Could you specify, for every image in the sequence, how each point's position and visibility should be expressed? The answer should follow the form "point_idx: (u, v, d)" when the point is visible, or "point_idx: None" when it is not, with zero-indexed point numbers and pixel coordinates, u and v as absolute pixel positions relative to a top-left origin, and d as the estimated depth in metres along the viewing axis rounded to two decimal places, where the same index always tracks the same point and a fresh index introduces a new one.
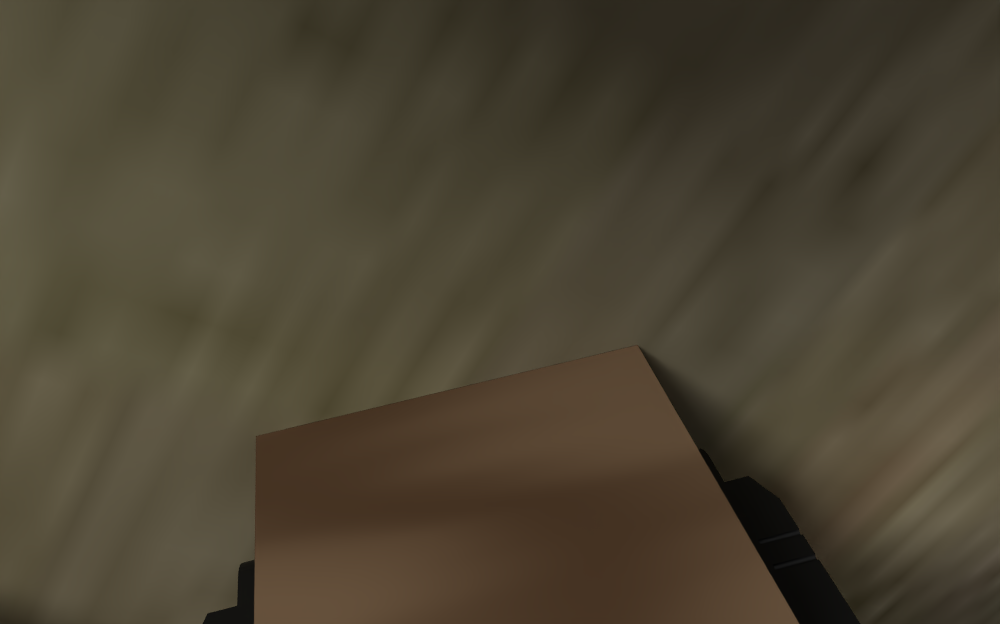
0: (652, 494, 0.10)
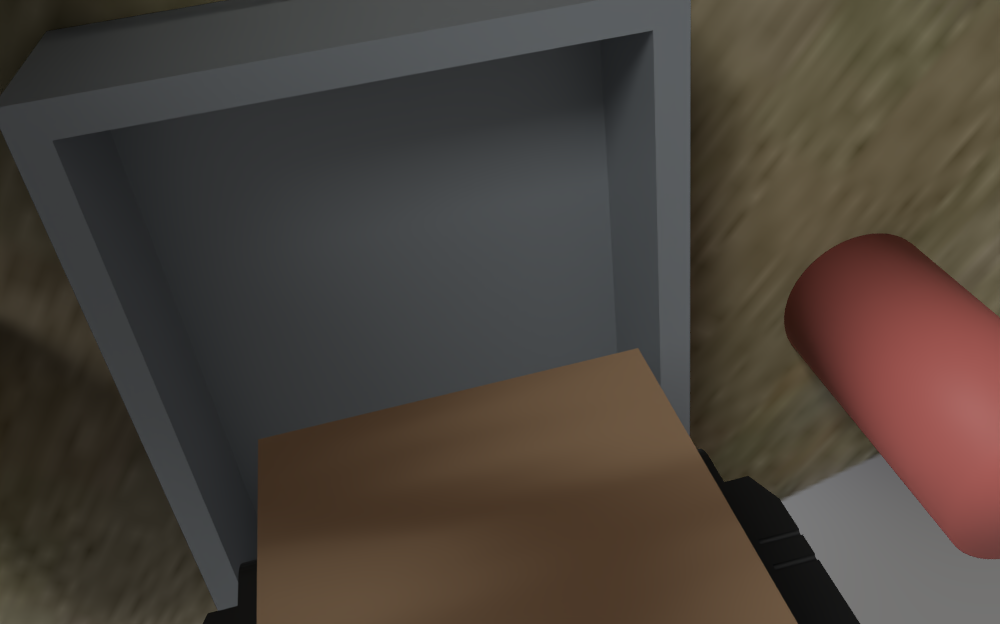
0: (653, 497, 0.10)
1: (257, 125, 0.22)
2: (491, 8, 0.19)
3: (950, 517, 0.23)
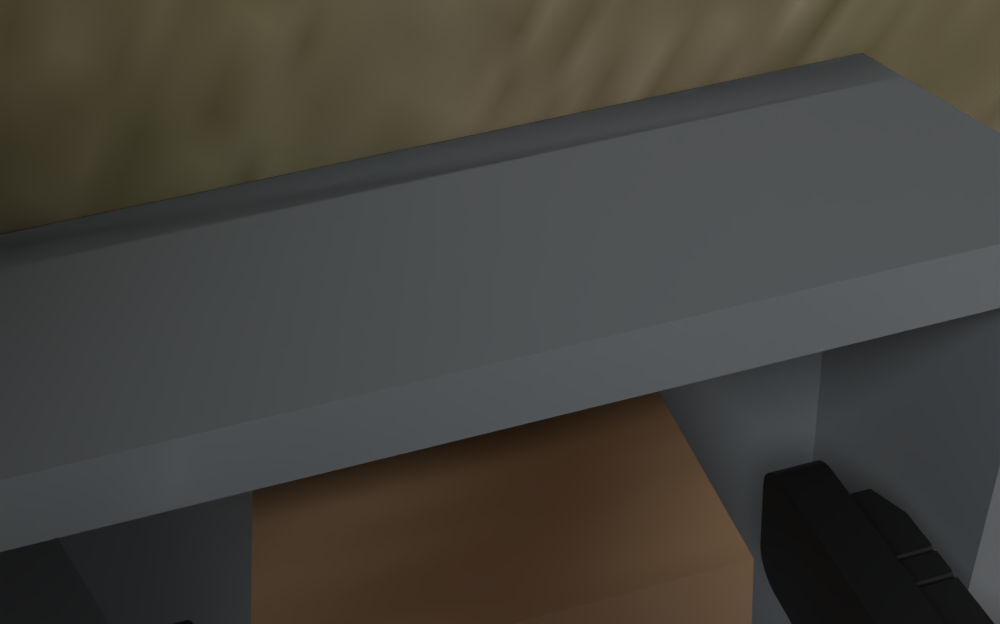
0: (608, 417, 0.11)
1: None
2: (721, 263, 0.09)
3: None
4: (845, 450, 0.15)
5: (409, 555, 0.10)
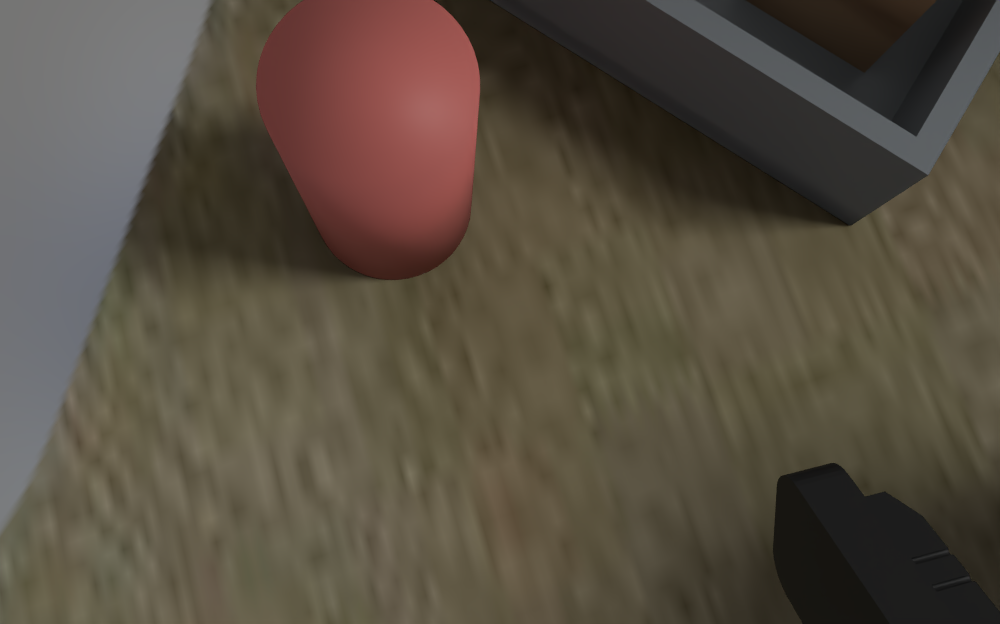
0: None
1: None
2: None
3: None
4: None
5: None
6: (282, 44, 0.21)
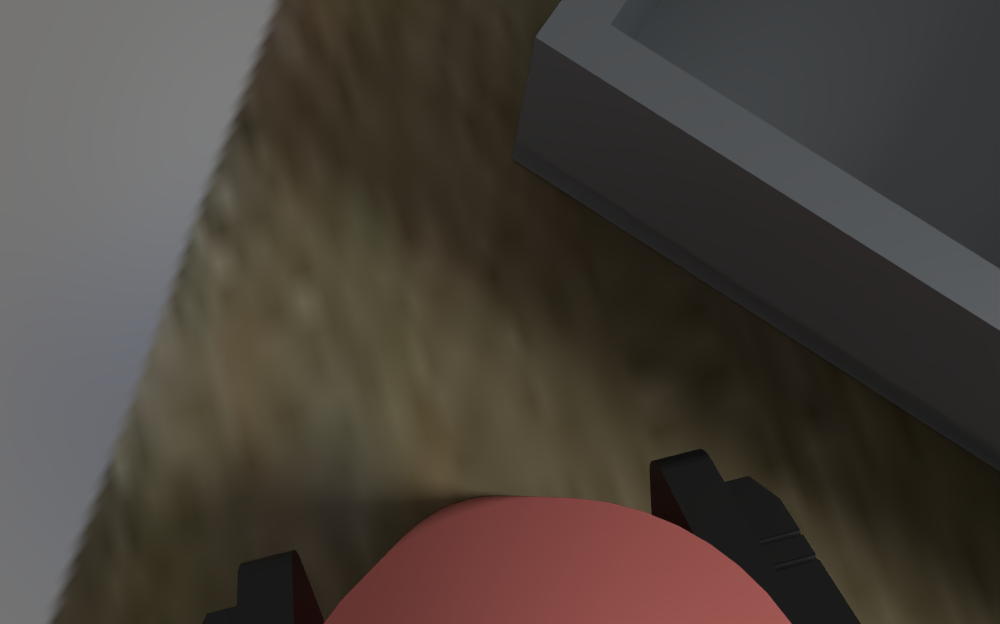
0: None
1: None
2: None
3: (681, 540, 0.08)
4: None
5: None
6: None
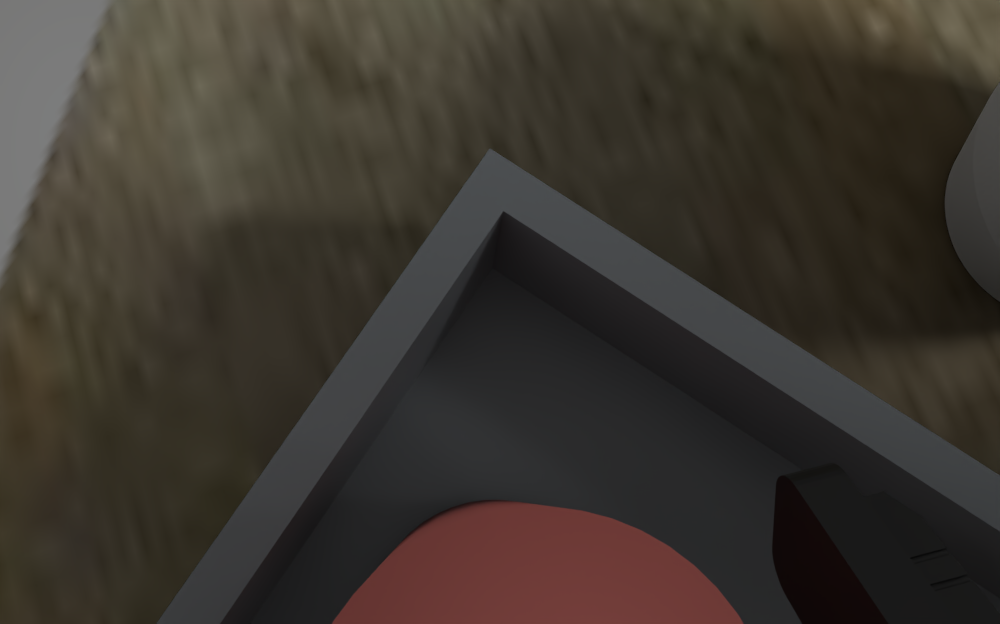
0: None
1: None
2: None
3: (643, 542, 0.10)
4: None
5: None
6: None
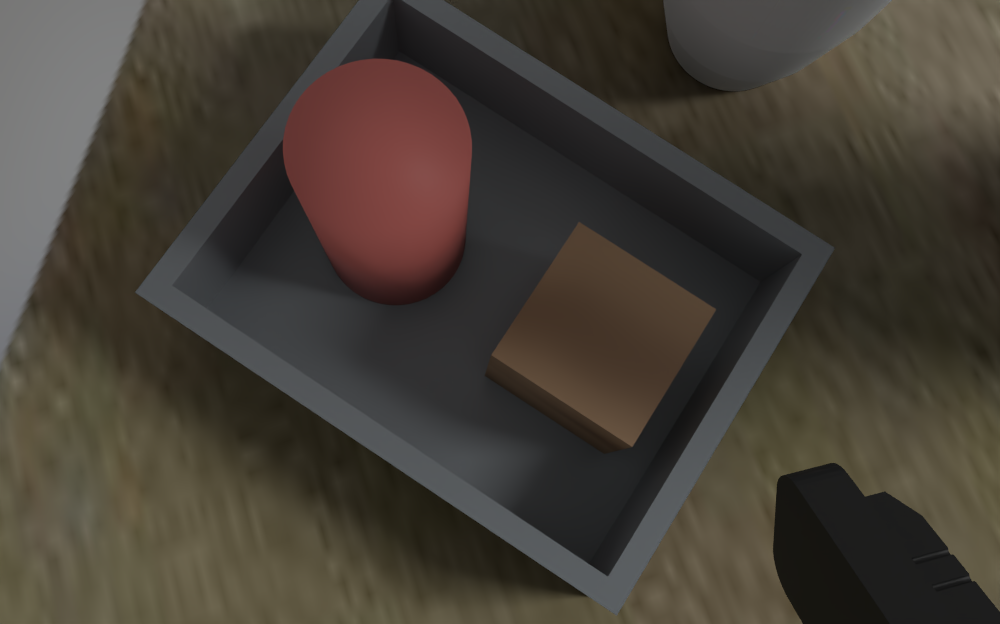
0: None
1: None
2: None
3: (420, 72, 0.25)
4: None
5: None
6: (304, 113, 0.25)
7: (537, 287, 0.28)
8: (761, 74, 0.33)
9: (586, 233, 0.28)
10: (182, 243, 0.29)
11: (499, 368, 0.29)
